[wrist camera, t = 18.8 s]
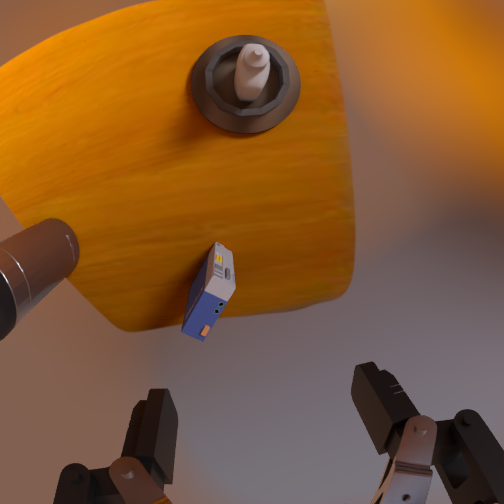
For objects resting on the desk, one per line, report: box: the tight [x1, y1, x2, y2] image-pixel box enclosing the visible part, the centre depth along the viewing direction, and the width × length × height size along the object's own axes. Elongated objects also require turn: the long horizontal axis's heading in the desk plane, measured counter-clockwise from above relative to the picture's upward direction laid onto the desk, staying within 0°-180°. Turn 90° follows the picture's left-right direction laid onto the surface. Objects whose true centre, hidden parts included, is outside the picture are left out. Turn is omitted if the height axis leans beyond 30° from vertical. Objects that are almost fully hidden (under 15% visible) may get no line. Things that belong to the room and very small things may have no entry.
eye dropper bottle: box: [234, 44, 270, 102], centre depth 27 cm, size 4×6×12 cm
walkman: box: [181, 242, 236, 341], centre depth 36 cm, size 8×3×12 cm, turn 150°
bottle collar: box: [191, 35, 300, 134], centre depth 32 cm, size 14×14×4 cm
